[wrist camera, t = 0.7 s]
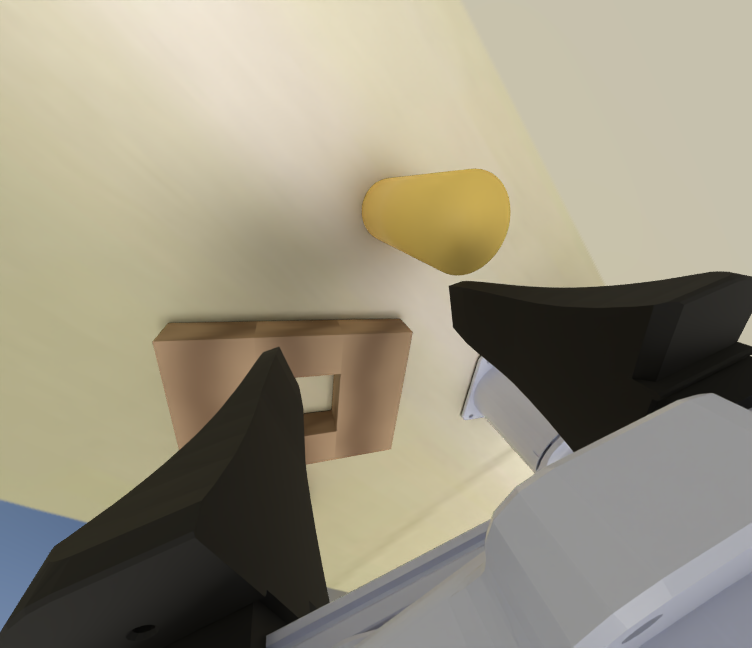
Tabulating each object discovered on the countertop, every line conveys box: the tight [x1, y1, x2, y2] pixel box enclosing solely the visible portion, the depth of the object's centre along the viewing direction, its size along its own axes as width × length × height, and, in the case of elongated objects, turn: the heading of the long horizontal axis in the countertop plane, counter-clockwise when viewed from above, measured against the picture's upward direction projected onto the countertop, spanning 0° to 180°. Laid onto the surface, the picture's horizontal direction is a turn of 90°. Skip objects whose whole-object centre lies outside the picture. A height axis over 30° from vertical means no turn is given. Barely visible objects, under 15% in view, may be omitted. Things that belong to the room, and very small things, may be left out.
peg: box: [362, 169, 510, 275], centre depth 15 cm, size 4×4×9 cm
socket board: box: [153, 319, 413, 464], centre depth 21 cm, size 16×12×2 cm
